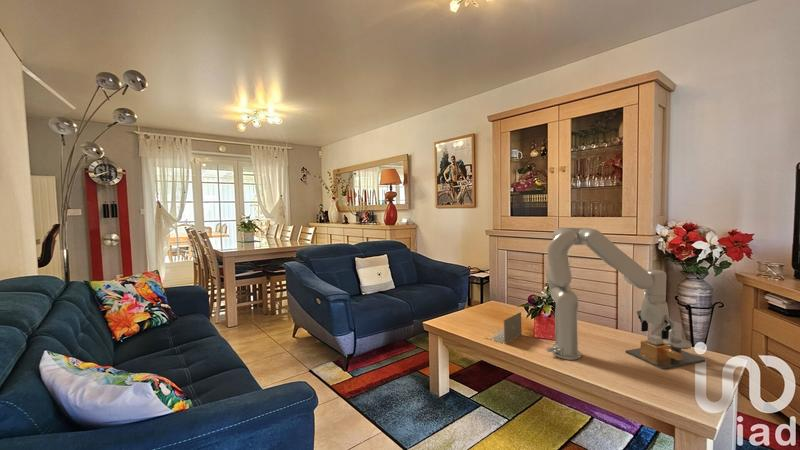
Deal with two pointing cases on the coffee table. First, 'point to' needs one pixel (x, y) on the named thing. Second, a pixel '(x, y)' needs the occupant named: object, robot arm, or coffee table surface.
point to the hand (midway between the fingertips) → (654, 334)
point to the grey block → (655, 340)
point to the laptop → (509, 329)
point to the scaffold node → (667, 351)
